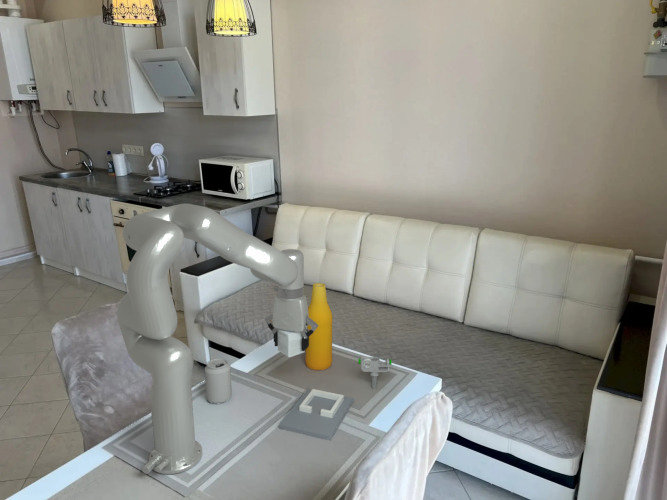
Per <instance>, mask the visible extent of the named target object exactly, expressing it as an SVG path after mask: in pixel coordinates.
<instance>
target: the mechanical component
mask: <svg viewBox="0 0 667 500" xmlns="http://www.w3.org/2000/svg"><path fill="white" fill-rule="evenodd" d="M357 361H358V365H360V367H361V370H362V372H363V373H364V372H365V373H366V372H367V373H370V376H371V388H372V389H373V390H376V389H377V383H378V382H377V381H378V380H377V379H378V376H379V375H380V374H379V373H387V372H389V370H390V365H391V366H392V359H389V358H386V360H385V361H381V360H380V357H378V356H360V358H358V360H357Z"/></svg>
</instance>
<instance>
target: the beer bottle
mask: <svg viewBox="0 0 667 500" xmlns="http://www.w3.org/2000/svg"><path fill="white" fill-rule="evenodd" d="M310 297H311V298H310V303H309V305H308V316H309V318H310V319H312V320H313V321H314V322H315V323H317V324H318V327H317V329H316V330H315V331H314V332H313V334H311V335H310V336H309V347H308V348H307V349H306V350H305V365H306V367H307V368H308V369H309V370H313V371H323V370H327V369H329V368H331V366H332V364H333V312H332V310H331V307H330V305H329V304H328V298H327V290H326V284H325V283H322V282H317V283H313V284H312V289H311V296H310ZM307 328H308V330H310V329H311V326H310V325H309V324H308V326H307Z"/></svg>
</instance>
